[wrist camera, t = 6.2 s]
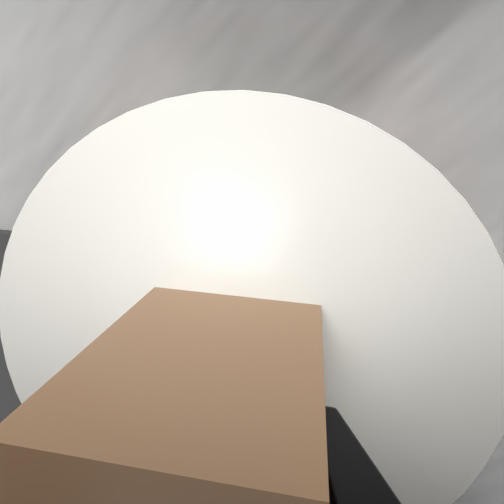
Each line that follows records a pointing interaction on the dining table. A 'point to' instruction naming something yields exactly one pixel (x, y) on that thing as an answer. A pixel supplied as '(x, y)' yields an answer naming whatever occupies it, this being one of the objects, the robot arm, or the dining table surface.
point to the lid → (246, 312)
